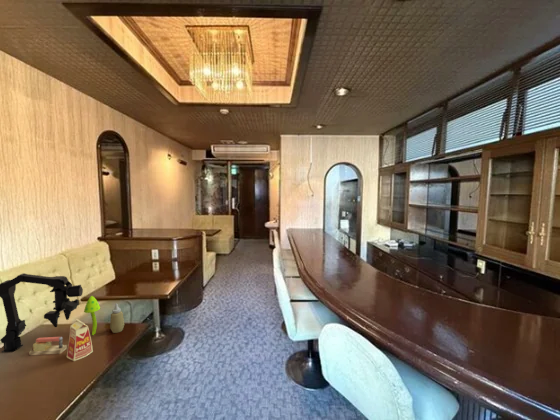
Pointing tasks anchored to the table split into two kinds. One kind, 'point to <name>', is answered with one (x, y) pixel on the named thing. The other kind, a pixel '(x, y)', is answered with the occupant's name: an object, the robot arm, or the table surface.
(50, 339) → the lever
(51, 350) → the plane body
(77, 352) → the milk carton
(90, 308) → the mushroom
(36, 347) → the tan rectangular block
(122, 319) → the squeeze bottle
